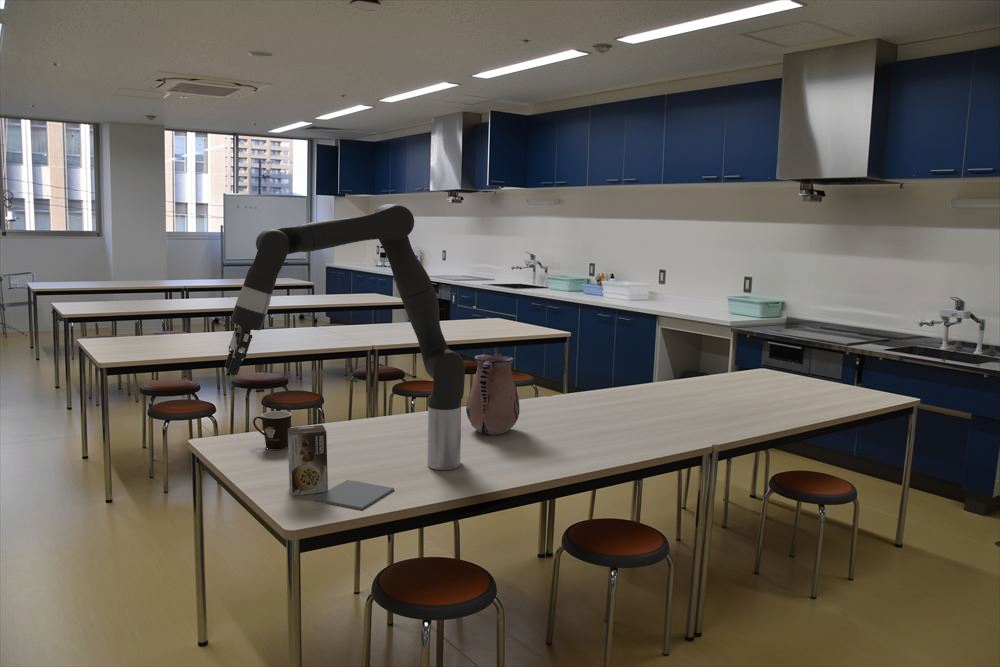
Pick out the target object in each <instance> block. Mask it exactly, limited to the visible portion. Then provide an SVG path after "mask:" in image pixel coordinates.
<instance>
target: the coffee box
mask: <svg viewBox="0 0 1000 667" xmlns="http://www.w3.org/2000/svg"><path fill="white" fill-rule="evenodd" d="M327 432H328V431H327V430H326V428H325V426H324V424H318V425H317V424H316V425H305V426H294V427H290V428H288V447H287V448H288V449H287V451H288V478H289V480H288V482H289V483H288V484H289V491H290V495H291V496H292V497H296V496H295V495H297V496H304V495H305V494H306V495H311V494H312V495H313V494H322V493H324V492H326V491H328V490H329V480H328V479H329V477H328V474H329V473H328V443H327V442H328V441H327V440H328V436H327V434H328V433H327Z"/></svg>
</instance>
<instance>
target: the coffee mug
mask: <svg viewBox="0 0 1000 667" xmlns="http://www.w3.org/2000/svg"><path fill="white" fill-rule="evenodd" d="M257 419H259V420H261V421H262V428H263V429H262V430H263V431H262V430H261V429H260V428H259V427H258V426H257V425H256V420H257ZM291 421H292V412H290V411H286V410H285V411H284V410H274V411H266V412H264V413H262V414H261V416H255V417H254V418H253V419H252V425H253V427H254V428H255V429H256V431H257V432H259V433H260V434H261V435H263V436H264V440H265V442H264V443H265V448H266V449H267V448H268V449H267V450H269V449H282V450H284V449H283V448H286V447H287V448H288V428H291V423H292V422H291ZM287 448H286V449H287Z"/></svg>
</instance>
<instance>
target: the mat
mask: <svg viewBox="0 0 1000 667" xmlns="http://www.w3.org/2000/svg"><path fill="white" fill-rule="evenodd" d="M393 490H394V491H395V488H394V487H391V486H386V485H379V484H374V483H373V484H372V483H368V482H363V481H362V482H361V481H356V480H351V479H346V480H345V481H343V482H341V483H339V484H337V485H335V486H333V487H331V488H330V489H328V491H326V492H323V493H319V495H316V496H315V497H313V498H312V499H313V500H314V502H318V501H320V502H319V503H323V502H325V504H328V503H331V504H330V505H333V504H336V505H335V506H339V505H341V506H340V507H344V506H346V507H345V508H349V507H352V508H351V509H355V508H357V509H356V510H360V509H363V510H364V508H365V507H366V508H367V506H368V507H369V506H371V505H373V504H374V503H376V502H377V501H379V500H381V499H382V498H383V496H384V497H385V495H386V496H387V495H389V494H390V493H392V492H394V491H393ZM391 491H392V492H391ZM388 493H389V494H388ZM381 497H382V498H381ZM380 498H381V499H380ZM378 499H379V500H378ZM375 501H376V502H375ZM373 502H374V503H373ZM372 503H373V504H372ZM370 504H371V505H370ZM366 508H365V509H366Z"/></svg>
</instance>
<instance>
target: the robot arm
mask: <svg viewBox="0 0 1000 667" xmlns="http://www.w3.org/2000/svg"><path fill="white" fill-rule="evenodd" d="M414 226H415V218H414V215H413V212H411V211H410V209H409V208H407V207H406V206H404V205H401V204H398V203H393V204H392V203H389V204H388V203H387V204H383V205H379V207H377V208H376V209H375V210H374V212H372V213H370V214H366V215H359V216H354V217H346V218H333V219H326V220H325V219H324V220H320V221H312V222H307V223H303V224H299V225H296V226H289V227H287V226H286V227H280V228H272V229H266V230H264V231H262V232H260V233H259V234H258V236H257V237H256V240H255V247H256V249H257V251H256V254H255V257H254V260H253V263H252V264H251V265H250V267H249V268H248V270H247V273H246V276H245V278H244V282H243V286H242V287H241V290H240V291H239V294H238V296H237V300H236V302H235V305H234V309H233V312H232V314H231V317H230V322H231V323H232V324H235V325H237V326H235V328H234V331H233V333H232V337H231V340H230V343H229V345H228V354H227V358H226V360H225V364H224V367H225V369H228V370H227V371H228V373H229V374H231V375H234V376H237V375H239V371H240V369H241V365H242V362H243V361H244V360H246V357H247V354H248V350H249V348H250V344H251V342H252V339H253V334H251V331H252V330H255V331H261V330H262V328H263V326H264V322H265V320H266V317H267V314H268V310H269V307H270V304H271V298H272V294H273V292H274V288H275V287H276V282H277V279H278V276H279V273H280V271H281V270H282V268H283V265H284V263H285V262H286V259H287V256H288V255H292V254H296V253H311V252H315V251H320V250H327V249H331V248H335V247H339V246H340V247H341V246H344V245H345V246H346V245H349V244H352V243H353V244H354V243H358V242H365V241H372V240H379V242H380V245H381V246H382V249H383V251H384V253H385V255H386V257H387V260H388V262H389V265H390V269H391V272H392V275H393V278H394V279H393V280H394V281H395V284H396V287H397V290H398V292H399V296H400V299H401V301H402V304H403V307H404V310H405V312H406V314H407V317H408V319H409V322H410V325H411V328H412V329H413V332H414V334H415V336H416V340H417V342H418V346H419V349H420V353H421V358H422V362H423V365H424V368H425V369H424V370H425V371H426V373H427V374H428V375H429V377H430V378H432V379H433V381H432V393H431V394H429V395H428V398H427V467H429V468H430V469H433V470H438V471H450V470H454V469H458V468H459V467H460V466H461V449H462V448H461V447H462V445H461V444H462V442H461V438H462V437H461V436H462V434H461V432H462V431H461V430H462V429H461V426H462V425H461V424H462V419H461V418H462V413H461V412H462V400H463V398H464V394H465V378H466V366H465V361H464V359H463V357H462V356H461V355H460V354H459V353H458V352H457V351H456V352H455V351H453V350H452V349H450V348H449V346H448V344H447V341H446V340H445V337H444V335H443V332H442V328H441V322H440V306H439V305H440V304H439V301H438V296H437V293H436V291H435V288H434V284H433V283H432V280H431V278H430V276H429V275H428V273H427V271H426V269H425V268H424V266H423V264H422V263H421V262H420V260H419V259H418V257H417V255H416V253H415V252H414V249H413V248H412V244H411V242H410V238H409V235H410V234H411V233H412V231H413V229H414Z"/></svg>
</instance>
